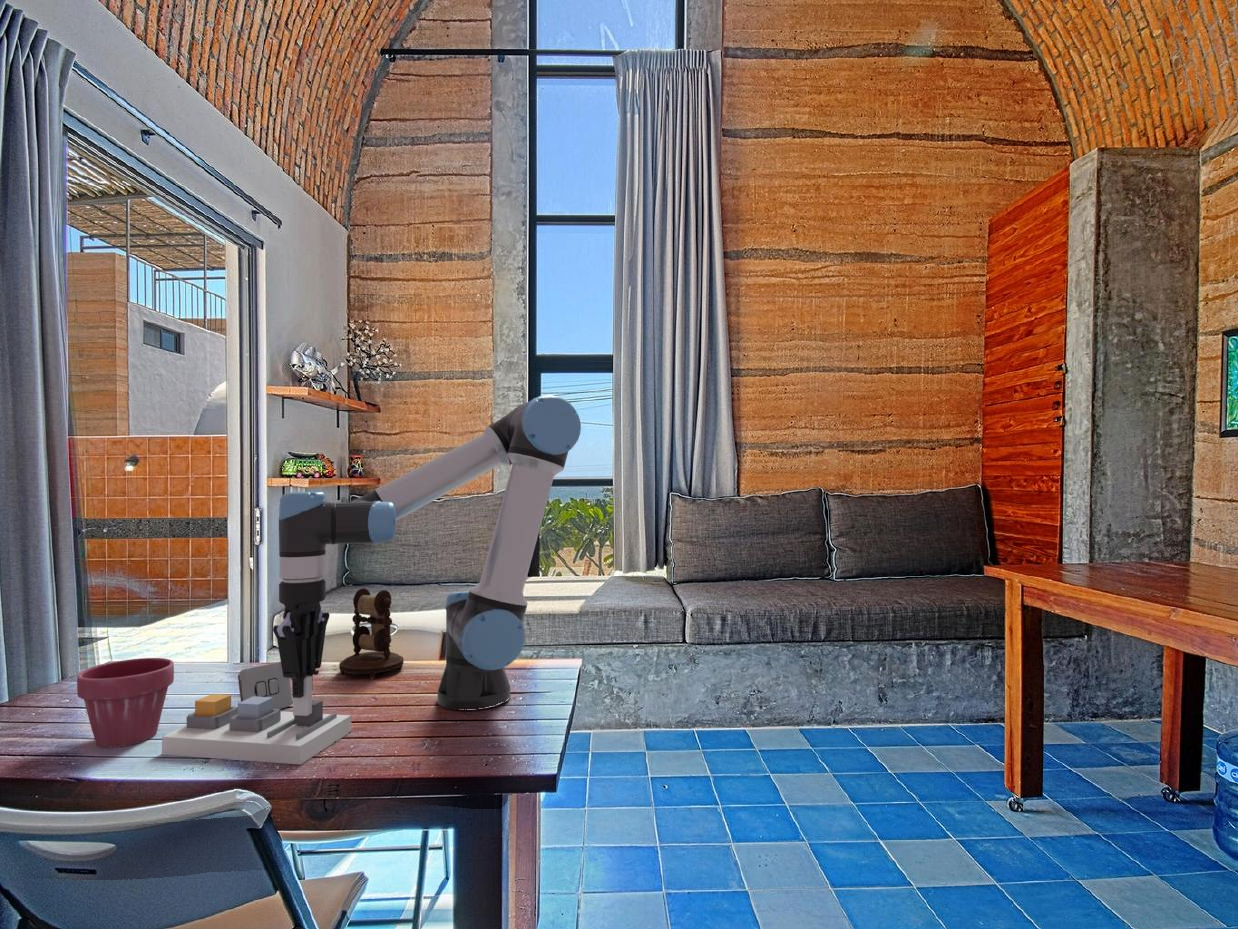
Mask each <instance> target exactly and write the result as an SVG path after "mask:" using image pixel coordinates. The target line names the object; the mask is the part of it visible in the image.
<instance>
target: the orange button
mask: <svg viewBox="0 0 1238 929" xmlns="http://www.w3.org/2000/svg"><path fill="white" fill-rule="evenodd" d="M231 706H232V695H231V694H219V693H218V694H216V693H212V694H209V695H207V696H204V697H201V698H199V699H197V700H194V712H195V715H200V716H217V715H219V714H222V713H224V712H226V711H228V710H230V709H231Z"/></svg>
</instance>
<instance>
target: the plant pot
mask: <svg viewBox="0 0 1238 929" xmlns="http://www.w3.org/2000/svg"><path fill="white" fill-rule="evenodd" d="M174 678H175V665H174V661H173V660H171V659H168V658H165V657H164V658H162V657H143V658H141V657H139V658H132V659H123V660H117V661H112V662H108V663H103V664H98V665H96V666H93V667H89V668H87V669H85V670H83V671H81V672H80V673H79V674H77V680H76V693H77V694H76V695H77V697H78V698H79V699H81V700H83V701H84V705H85V709H86V714H87V717H88V720H89V724H90V728H91V731H92V735H93V738H94V742H95V745H96V746H97V745H98V747H100V748H119V747H124V746H125V747H127V746H130V745H135V744H138V743H142V742H144V741H147V740H149V739H151V738H153V737H154V736H155V735H156V734H157V733H158V731H159V730H158V729H159V726H160V721H161V716H162V713H163V708H164V705H165V701H166V697H167V693H168V689H169V687H170V686H171V685H172V684H173V683H174V680H175V679H174Z"/></svg>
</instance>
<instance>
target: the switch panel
mask: <svg viewBox="0 0 1238 929" xmlns="http://www.w3.org/2000/svg"><path fill="white" fill-rule="evenodd" d="M185 722H186V725H185V726H183V727H180V728H179V729H176V730H174V731H172V732H170V733H168V734H165V735H163V736H162V737H161V755H164V756H165V755H166V756H176V757H177V756H178V757H179V756H180V757H189V758H190V757H191V758H207V759H219V760H230V761H231V760H232V761H233V760H234V761H246V762H259V763H260V762H261V763H272V764H273V763H274V764H290V765H302V764H304V763H305V762H307V761H308V760H310V759H311V758H313V757H314V756H317V754H319V753H320V751H321V752H322V751H324V750H325V749H327V748H328V747H330V746H331V745H333V744H335V743H336V742H338V741H339V740H340V739H343V738H344V737H346V736H347V735H349V734H350V733H352V715H351V714H350V715H348V714H337V713H336V712H333V713H323V719H322V720H321V721H319V722H317V723H315V724H314V725H299V724H294V715H293V711H281V709H273V712H272V713H270V714H268V715H266V716H264V717H262V718H260V719H249V718H238V706H232V705H231V709H230V710H228V711H226V712H224V713H222V714H219V715H217V716H200V715H195V711H193V712H191V713H189V714H188V715H186V721H185ZM349 732H350V733H349ZM335 741H336V742H335ZM334 742H335V743H334Z"/></svg>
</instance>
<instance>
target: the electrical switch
mask: <svg viewBox="0 0 1238 929" xmlns="http://www.w3.org/2000/svg"><path fill="white" fill-rule="evenodd" d="M237 680H238V688H239V696H240V697H239V698H240V702H242V701H244V700H246V699H249V698H251V697H253V696H255V697H273V709H286V708H288V707H291V706H293V696H292V686H291V678H285V677H283V672H282V666H281V661H277V662H272V663H268V664H263V665H257V666H253V667H248V668H242V669H241V670H240V671H239V673H238V675H237Z"/></svg>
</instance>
